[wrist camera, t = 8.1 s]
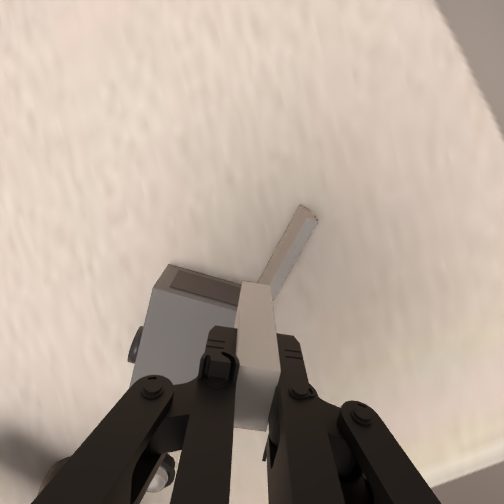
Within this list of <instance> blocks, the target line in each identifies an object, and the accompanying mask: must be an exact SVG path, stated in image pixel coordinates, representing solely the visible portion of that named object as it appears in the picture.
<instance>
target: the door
mask: <svg viewBox="0 0 504 504" xmlns="http://www.w3.org/2000/svg"><path fill="white" fill-rule="evenodd" d="M317 223H318V219H317V218H316V217H315V216H313V215H312V213H311V212H310V210H309V209H307V208H305V207H303V206H301V205H300V206H299V208H298V209H297V211H296V213H295V215H294V217H293V219H292V220H291V222H290V224H289V226H288V228H287V230H286V231H285V233H284V235H283V237H282V239H281V241H280V242H279V244H278V246H277V248H276V250H275V252H274V254H273V255H272V257H271V259H270V261H269V263H268V265H267V266H266V268H265V270H264V272H263V274H262V276H261V277H260V279H259V281H258V283H259V284H265V285H270V287H271V295H272V302H273V300H274V298H275V296H276V295H277V293H278V291H279V289H280V288H281V286H282V284H283V282H284V281H285V279H286V277H287V276H288V274H289V272H290V270H291V269H292V267H293V265H294V263H295V262H296V260H297V258H298V256H299V255H300V253H301V251H302V249H303V248H304V246H305V244H306V242H307V241H308V239H309V237H310V236H311V234H312V232H313V230H314V229H315V227H316V225H317Z"/></svg>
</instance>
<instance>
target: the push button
mask: <svg viewBox="0 0 504 504" xmlns="http://www.w3.org/2000/svg"><path fill="white" fill-rule="evenodd" d="M174 467H175V461H174V459H173V458H172V457H171V456H170V455H169V454H168V453H166V455H165V458H164V459H163V461H162V463H161V465H160V467H159V469H158V470H157V472H156V474H155V476H154V478H153V480H152V481H151V483H150V485H149V487H148V489H147V491H146V492H150V493H153V492H159V491H160V490H162V489H163V488H165V487H167V486H169V485H170V484H171V483H172V482H173V480H174V477H175V470H174Z"/></svg>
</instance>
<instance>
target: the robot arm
mask: <svg viewBox="0 0 504 504" xmlns="http://www.w3.org/2000/svg"><path fill="white" fill-rule="evenodd" d="M268 423H269V435H268V439H267V443H266V446H265V450H264V454H263V460H262V461H266V457H267V474H268V497H269V504H441V503H440V501H439V500H438V498H437V497H436V496H435V494H434V493H433V491H432V490H431V489H430V487H429V486H428V484H427V483H426V482H425V480H424V479H423V477H422V476H421V474H420V473H419V472H418V470H417V469H416V467H415V466H414V465H413V463H412V462H411V460H410V459H409V458H408V456H407V455H406V453H405V452H404V451H403V449H402V448H401V446H400V445H399V444H398V442H397V441H396V439H395V438H394V436H393V435H392V434H391V432H390V431H389V429H388V428H387V427H386V425H385V424H384V422H383V421H382V420H381V418H380V417H379V415H378V414H377V413H376V412H375V411H374V410H373V409H372V408H370V407H369V406H367V405H366V404H364V403H361V402H359V401H347V402H345V403H344V404H343V405H342V406H341V408H340V407H337V406H335V405H332V404H330V403H327V402H325V401H323V400H322V399H320V398H319V397H318V394H317V392H316V390H315V389H314V388H313V387H312V386H311V385H310V384H309V382H308V378H307V373H306V369H305V365H304V360H303V356H302V353H301V347H300V343H299V342H298V341H297V340H296V338H295V337H294V336H291V335H284V334H277V333H276V328H275V320H274V311H273V303H272V295H271V287H270V285H265V284H259V283H252V282H246V281H242V285H241V291H240V297H239V302H238V308H237V314H236V319H235V325H234V328H231V327H224V326H217V325H215V326H214V327H213V328H212V329H211V330H210V331H209V334H208V339H207V343H206V348H205V352H204V354H203V355H202V357H201V359H200V366H199V373H198V376H197V377H196V378H195V379H193V380H192V381H189V382H187V383H183V384H176V385H173V383H172V382H171V381H170V380H169V379H168V378H166V377H164V376H161V375H147V376H144V377H142V378H140V379H138V380H137V381H136V382H135V383H134V384H133V385H132V386H131V387H130V388H129V389H128V391H127V392H126V393H125V394H124V395H123V396H122V398H121V399H120V400H119V401H118V402H117V403H116V405H115V406H114V407H113V408H112V409H111V411H110V412H109V413H108V414H107V415H106V416H105V418H104V419H103V420H102V421H101V422H100V423H99V425H98V426H97V427H96V428H95V429H94V430H93V432H92V433H91V434H90V435H89V436H88V437H87V439H86V440H85V441H84V442H83V443H82V444H81V446H80V447H79V448H78V449H77V450H76V451H75V453H74V454H73V455H72V456H71V457H69V458H66V459H63V460H61V461H59V462H58V463H56V464H55V465H54V466H53V467H52V468H51V469H50V471H49V473H48V474H47V476H46V477H45V479H44V481H43V482H42V484H41V487H40V490H39V493H38V496H37V497H36V498H35V499H34V501H33V502H32V503H31V504H139V503H140V501H141V500H142V498H143V496H144V494H145V492H146V491H147V489H148V487H149V485H150V483H151V481H152V480H153V478H154V476H155V474H156V472H157V470H158V469H159V467H160V465H161V463H162V461H163V459H164V458H165V455H166V453H168V452H173V451H178V450H182V452H181V456H180V461H179V465H178V470H177V474H176V479H175V483H174V488H173V492H172V497H171V501H170V504H229V494H230V478H231V461H232V445H233V428H234V427H235V428H243V429H250V430H258V431H266V429H267V425H268Z"/></svg>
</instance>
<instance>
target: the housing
mask: <svg viewBox="0 0 504 504" xmlns="http://www.w3.org/2000/svg"><path fill="white" fill-rule="evenodd" d="M240 291H241V285H238V284H235V283H232V282H228V281H225V280H221V279H218V278H214V277H211V276H207V275H204V274H201V273H197V272H194V271H190V270H187V269H183V268H180V267H177V266H173V265H170V264H168V266H167V267H166V269H165V270H164V272H163V273H162V275H161V276H160V278H159V279H158V281H157V282H156V284H155V285H154V287H153V289H152V294H151V298H150V302H149V306H148V311H147V315H146V319H145V323H144V327H143V326H140V327H139V329H138V331H137V333H136V335H135V337H134V340H133V342H132V345H131V348H130V351H129V355H128V362H131V363H134V364H135V366H134V370H133V374H132V378H131V383H130V387H131V386H132V385H133V384H134V383H135V382H136V381H137V380H138V379H140V378H142V377H144V376H147V375H161V376H164V377H166V378H168V379H169V380H170V381H171V382H172V383H173V385H176V384H183V383H187V382H189V381H192V380H193V379H195V378H196V377H197V376H198V373H199V366H200V359H201V357H202V355H203V354H204V352H205V348H206V343H207V339H208V334H209V331H210V330H211V329H212V328H213V327H214V326H215V325H217V326H224V327H231V328H234V325H235V319H236V314H237V308H238V302H239V297H240ZM130 387H129V388H130Z"/></svg>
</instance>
